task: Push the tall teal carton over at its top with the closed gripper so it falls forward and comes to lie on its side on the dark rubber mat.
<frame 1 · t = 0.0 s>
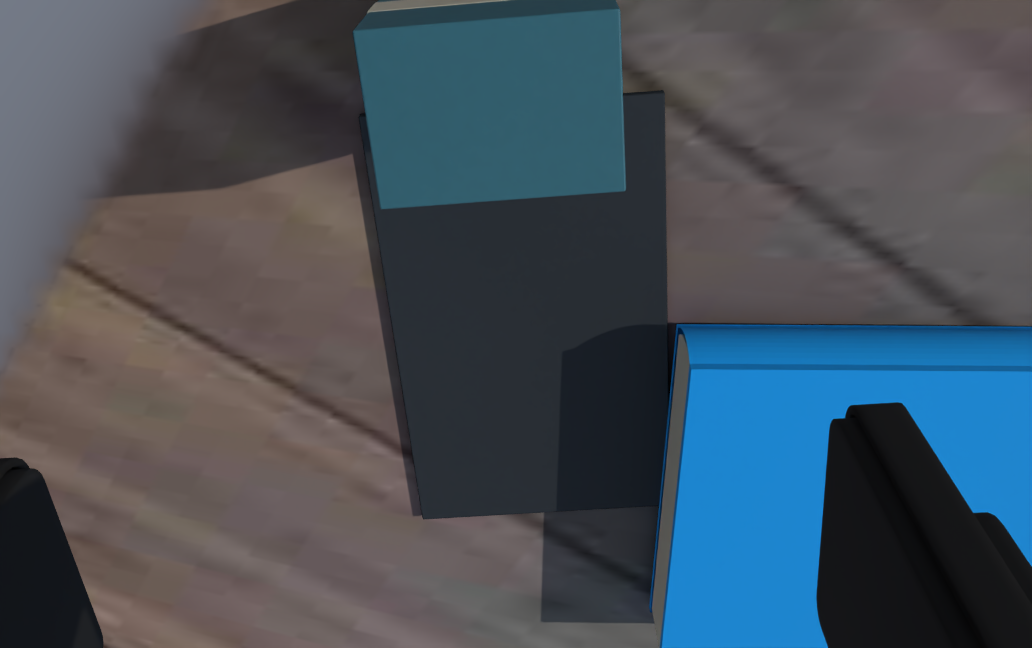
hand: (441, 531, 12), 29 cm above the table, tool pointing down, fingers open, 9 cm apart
book: (922, 471, 46), on the table, touching mat
mat: (529, 326, 43), on the table
carton: (504, 29, 37), on the table
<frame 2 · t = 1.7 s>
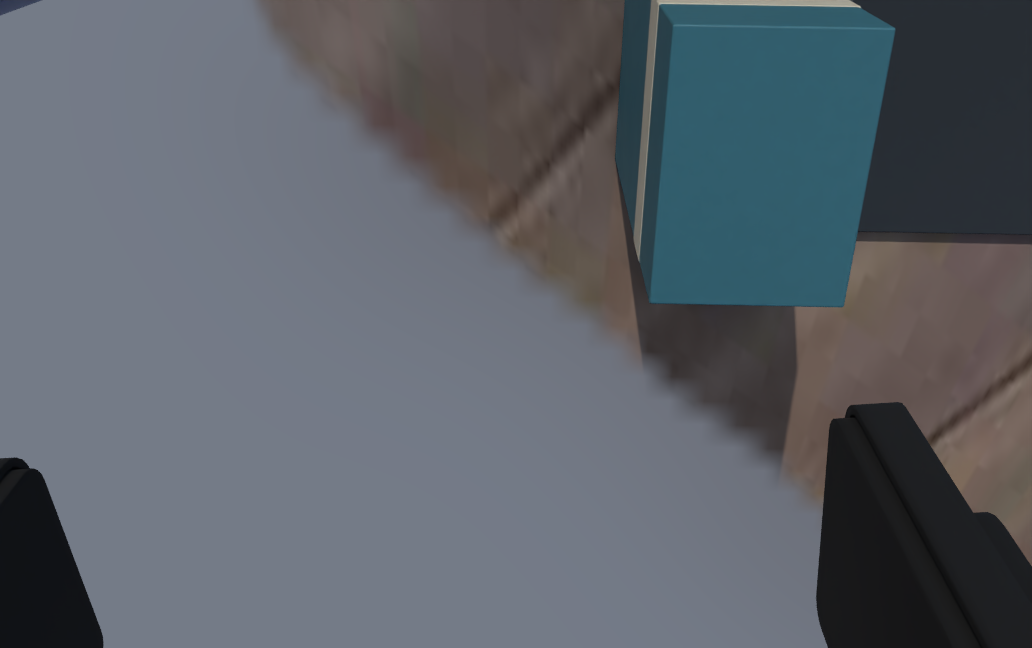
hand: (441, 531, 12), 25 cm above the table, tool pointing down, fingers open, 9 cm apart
carton: (692, 64, 34), on the table
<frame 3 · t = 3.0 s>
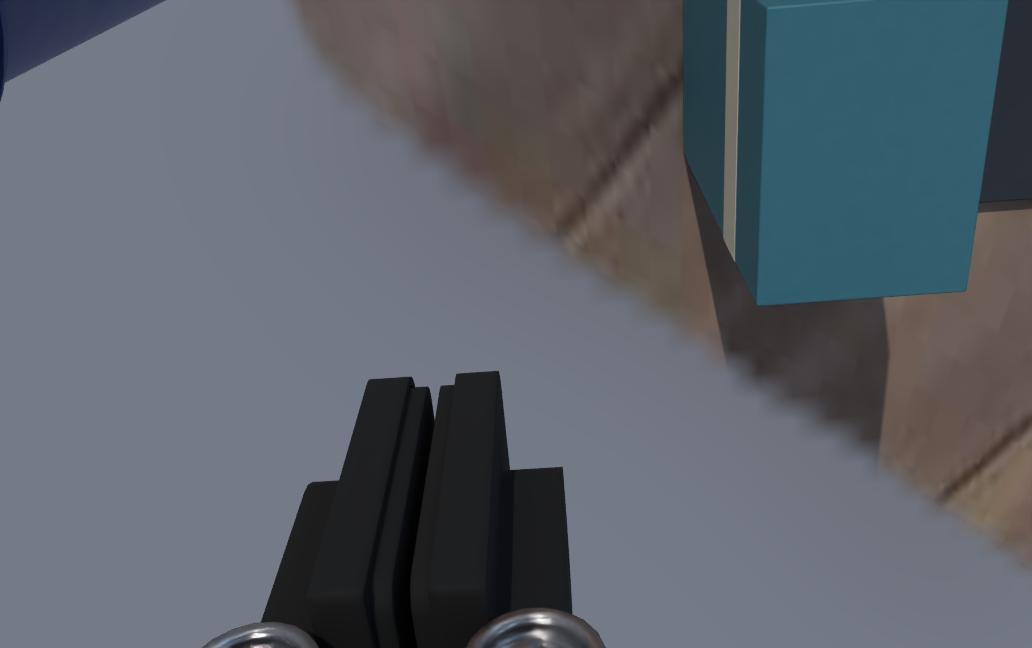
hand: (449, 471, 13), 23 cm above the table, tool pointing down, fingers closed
carton: (758, 47, 32), on the table
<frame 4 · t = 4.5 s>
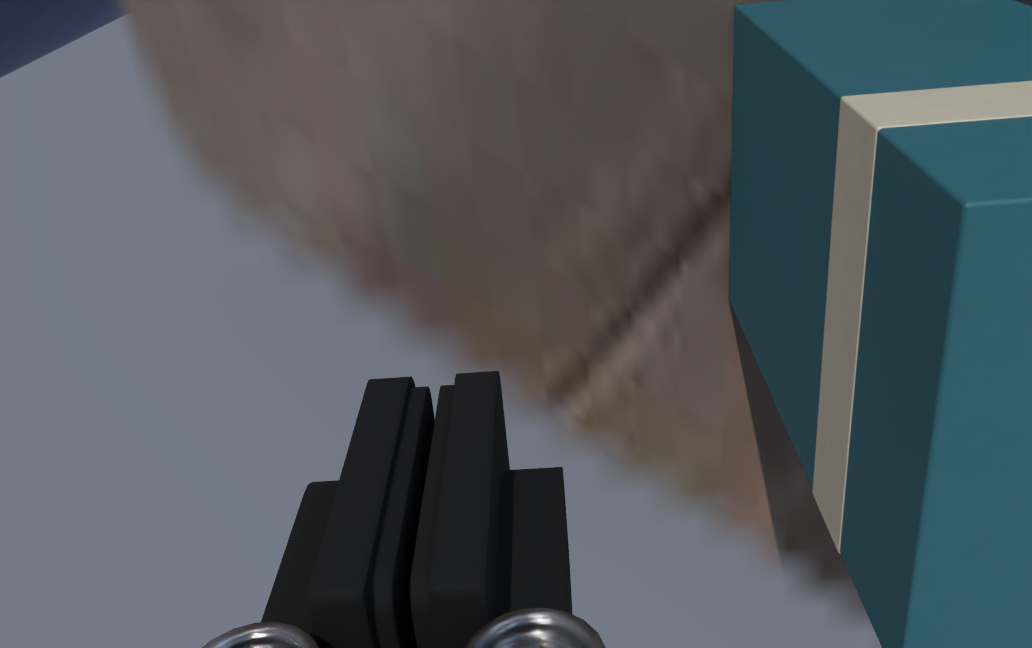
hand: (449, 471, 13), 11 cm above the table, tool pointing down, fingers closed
carton: (841, 153, 22), on the table
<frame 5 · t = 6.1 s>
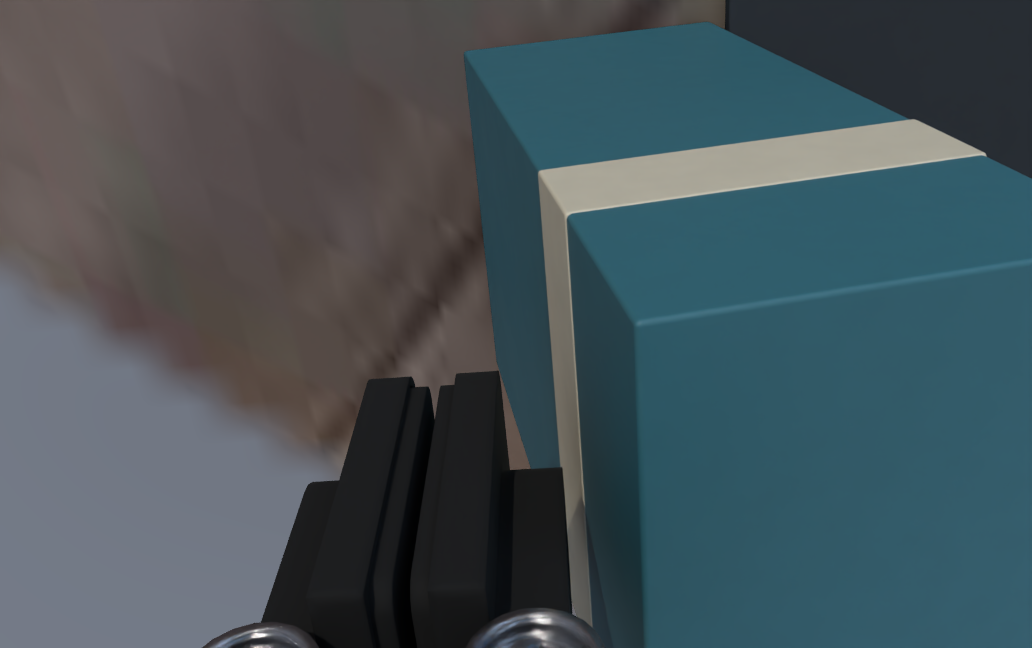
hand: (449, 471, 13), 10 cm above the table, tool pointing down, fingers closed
carton: (596, 202, 21), on the table, tilted 10°, touching gripper
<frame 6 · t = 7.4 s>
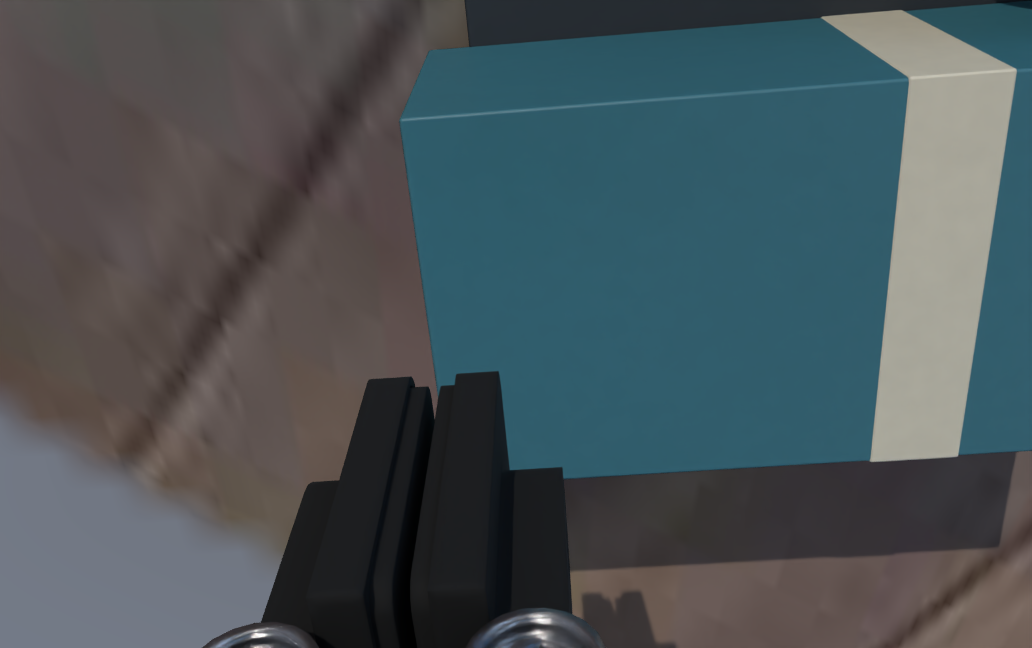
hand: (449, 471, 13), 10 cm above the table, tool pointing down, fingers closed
mat: (952, 169, 21), on the table
carton: (438, 261, 19), point 3 cm above the table, tilted 90°, touching mat
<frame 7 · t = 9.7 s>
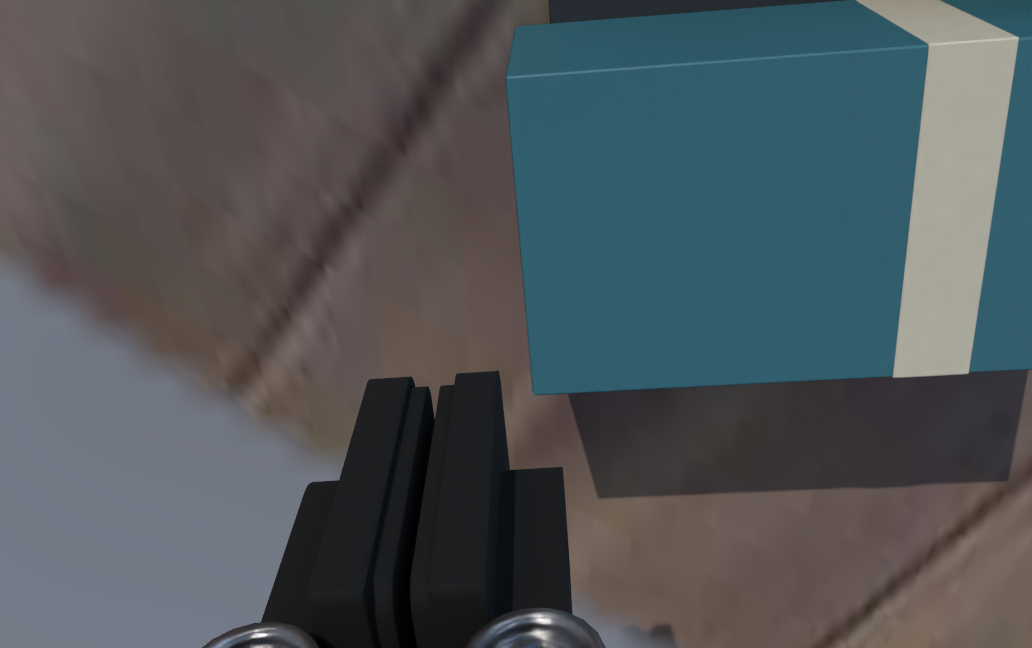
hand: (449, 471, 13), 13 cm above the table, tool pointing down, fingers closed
mat: (967, 134, 24), on the table
carton: (523, 205, 22), point 3 cm above the table, tilted 90°, touching mat
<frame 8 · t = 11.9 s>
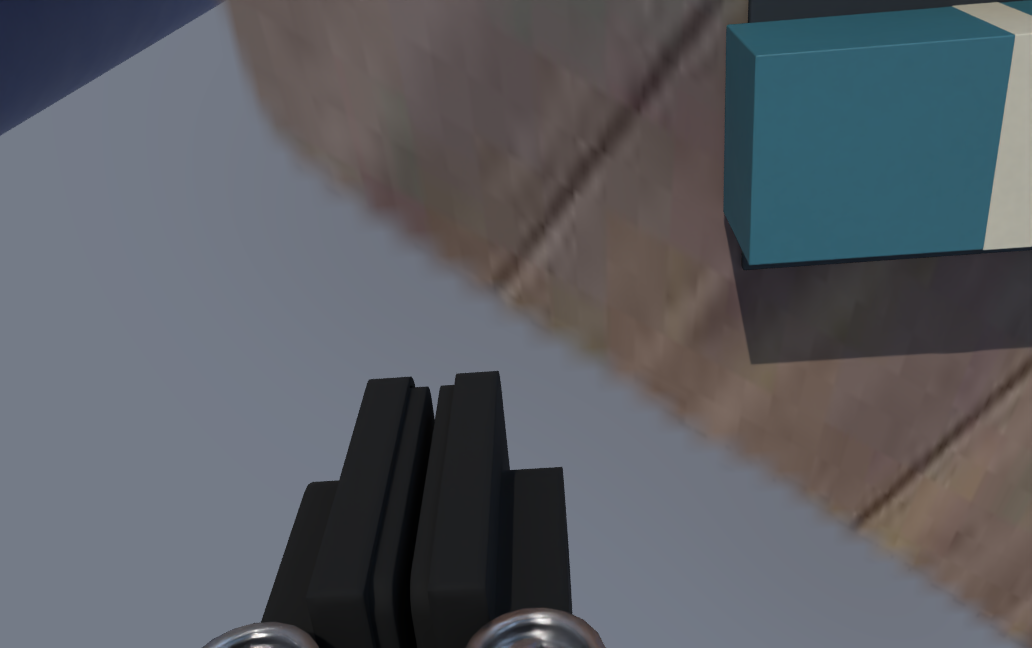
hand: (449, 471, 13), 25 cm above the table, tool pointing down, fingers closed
mat: (1022, 96, 35), on the table
carton: (737, 143, 33), point 3 cm above the table, tilted 90°, touching mat
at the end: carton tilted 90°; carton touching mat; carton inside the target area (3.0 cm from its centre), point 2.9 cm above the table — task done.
